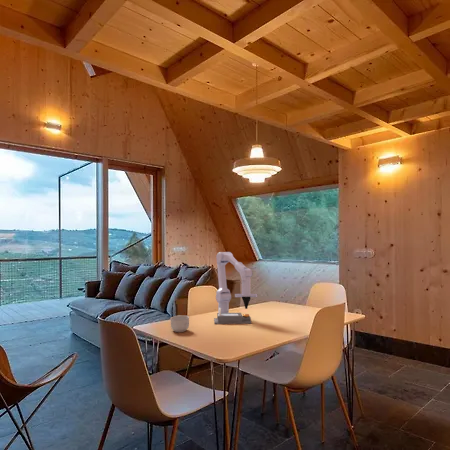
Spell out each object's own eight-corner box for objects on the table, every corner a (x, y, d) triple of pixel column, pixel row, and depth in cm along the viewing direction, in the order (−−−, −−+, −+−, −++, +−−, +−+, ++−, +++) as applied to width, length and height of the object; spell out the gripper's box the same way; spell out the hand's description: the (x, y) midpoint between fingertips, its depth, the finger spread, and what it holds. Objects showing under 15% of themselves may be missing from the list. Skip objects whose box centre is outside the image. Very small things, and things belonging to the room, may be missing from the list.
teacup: (188, 333, 209) (188, 319, 210) (168, 333, 209) (169, 319, 210) (190, 327, 223) (190, 314, 224) (172, 327, 223) (172, 314, 224)
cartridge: (218, 318, 241) (218, 307, 241) (238, 318, 242) (238, 307, 242) (218, 320, 235) (218, 309, 235) (238, 320, 236) (239, 309, 236)
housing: (214, 319, 244) (214, 312, 244) (248, 319, 245) (248, 312, 245) (214, 324, 232) (214, 316, 232) (251, 323, 233) (251, 316, 233)
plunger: (242, 318, 241) (242, 313, 241) (248, 318, 241) (248, 313, 241) (243, 320, 237) (243, 315, 237) (249, 320, 237) (249, 315, 237)
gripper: (235, 288, 235) (235, 309, 235) (258, 288, 236) (258, 309, 236) (234, 286, 242) (234, 307, 242) (256, 286, 243) (256, 307, 243)
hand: (246, 308), depth 239 cm, fingers closed
